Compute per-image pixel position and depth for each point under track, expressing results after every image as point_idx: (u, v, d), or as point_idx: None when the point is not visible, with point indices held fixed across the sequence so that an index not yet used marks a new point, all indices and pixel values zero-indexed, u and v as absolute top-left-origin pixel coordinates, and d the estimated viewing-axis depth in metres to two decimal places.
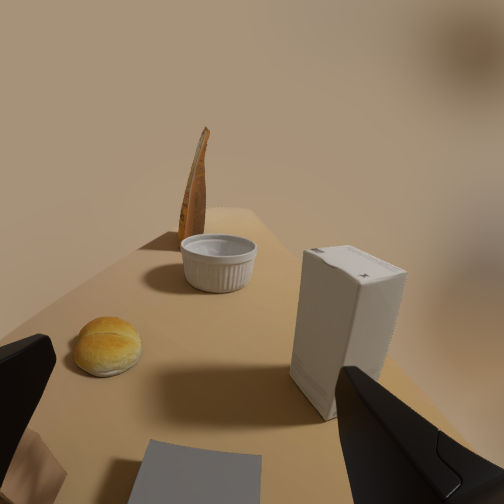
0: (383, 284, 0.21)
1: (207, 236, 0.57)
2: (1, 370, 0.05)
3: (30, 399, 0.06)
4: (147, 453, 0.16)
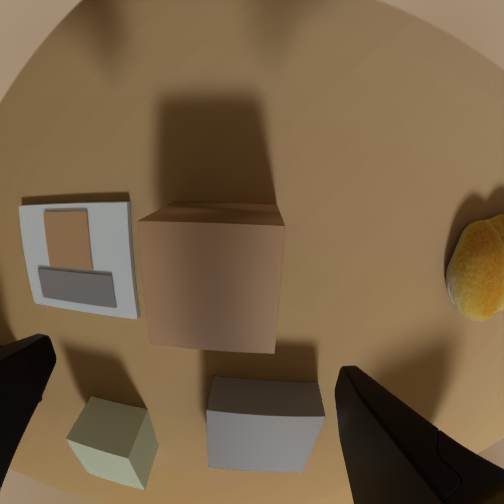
0: None
1: None
2: (1, 370, 0.05)
3: (30, 399, 0.06)
4: (305, 418, 0.18)
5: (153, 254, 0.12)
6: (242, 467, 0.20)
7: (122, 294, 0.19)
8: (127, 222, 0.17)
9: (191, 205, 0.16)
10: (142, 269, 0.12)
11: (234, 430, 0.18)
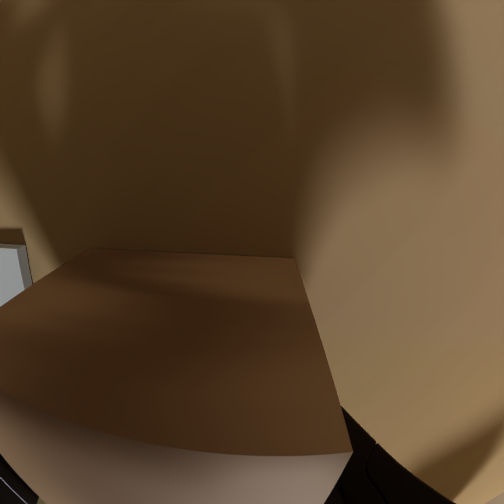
0: None
1: None
2: None
3: None
4: None
5: None
6: None
7: None
8: (22, 283, 0.08)
9: (102, 269, 0.06)
10: None
11: None
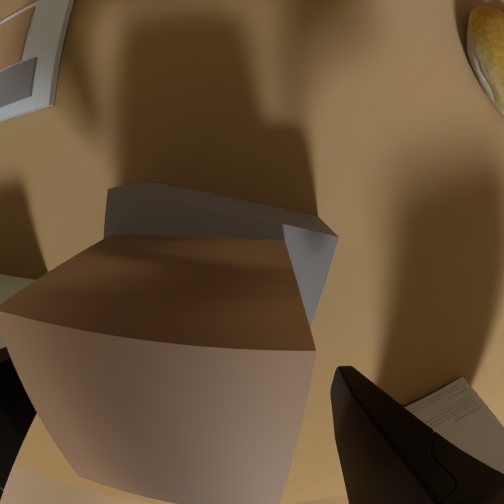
0: None
1: None
2: (4, 371, 0.05)
3: None
4: (298, 232, 0.10)
5: (33, 373, 0.04)
6: None
7: (41, 77, 0.11)
8: (69, 0, 0.09)
9: (127, 248, 0.08)
10: (27, 390, 0.05)
11: None
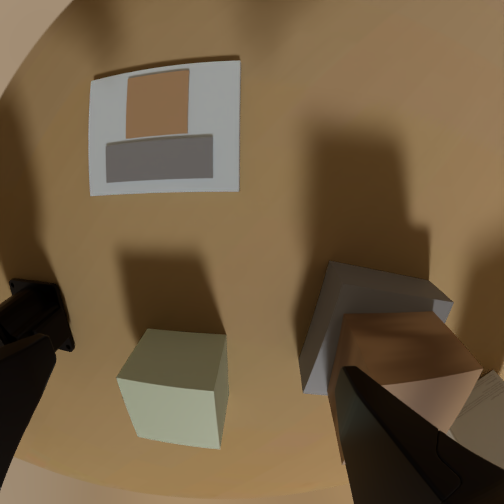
0: None
1: None
2: (2, 370, 0.05)
3: (30, 399, 0.06)
4: (437, 302, 0.15)
5: None
6: None
7: (223, 160, 0.17)
8: (239, 79, 0.15)
9: (374, 328, 0.14)
10: None
11: None
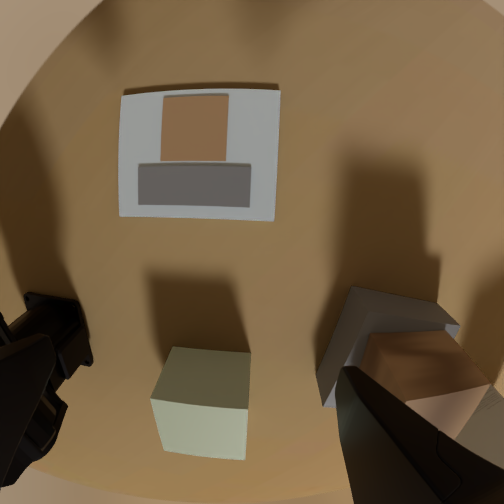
0: None
1: None
2: (1, 370, 0.05)
3: (30, 399, 0.06)
4: (447, 326, 0.16)
5: None
6: None
7: (260, 190, 0.17)
8: (279, 110, 0.16)
9: (399, 347, 0.15)
10: None
11: None
